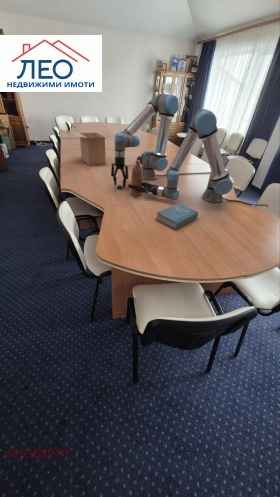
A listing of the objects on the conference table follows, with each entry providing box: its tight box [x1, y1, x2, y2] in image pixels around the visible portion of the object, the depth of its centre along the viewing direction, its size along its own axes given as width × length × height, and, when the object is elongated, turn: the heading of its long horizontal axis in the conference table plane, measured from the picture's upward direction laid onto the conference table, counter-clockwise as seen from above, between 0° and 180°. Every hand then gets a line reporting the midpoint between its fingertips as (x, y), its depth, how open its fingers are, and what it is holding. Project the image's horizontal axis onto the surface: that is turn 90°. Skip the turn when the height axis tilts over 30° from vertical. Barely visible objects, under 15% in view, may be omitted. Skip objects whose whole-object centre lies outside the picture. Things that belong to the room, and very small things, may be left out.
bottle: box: [130, 159, 144, 197], centre depth 165 cm, size 8×8×25 cm
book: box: [155, 203, 199, 230], centre depth 142 cm, size 23×16×5 cm
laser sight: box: [136, 153, 143, 164], centre depth 240 cm, size 10×22×10 cm, turn 78°
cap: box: [116, 184, 123, 190], centre depth 179 cm, size 4×4×2 cm
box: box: [70, 129, 114, 166], centre depth 229 cm, size 44×36×27 cm
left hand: (119, 186), depth 179 cm, fingers open, 7 cm apart
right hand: (131, 184), depth 170 cm, fingers closed on bottle, 8 cm apart
